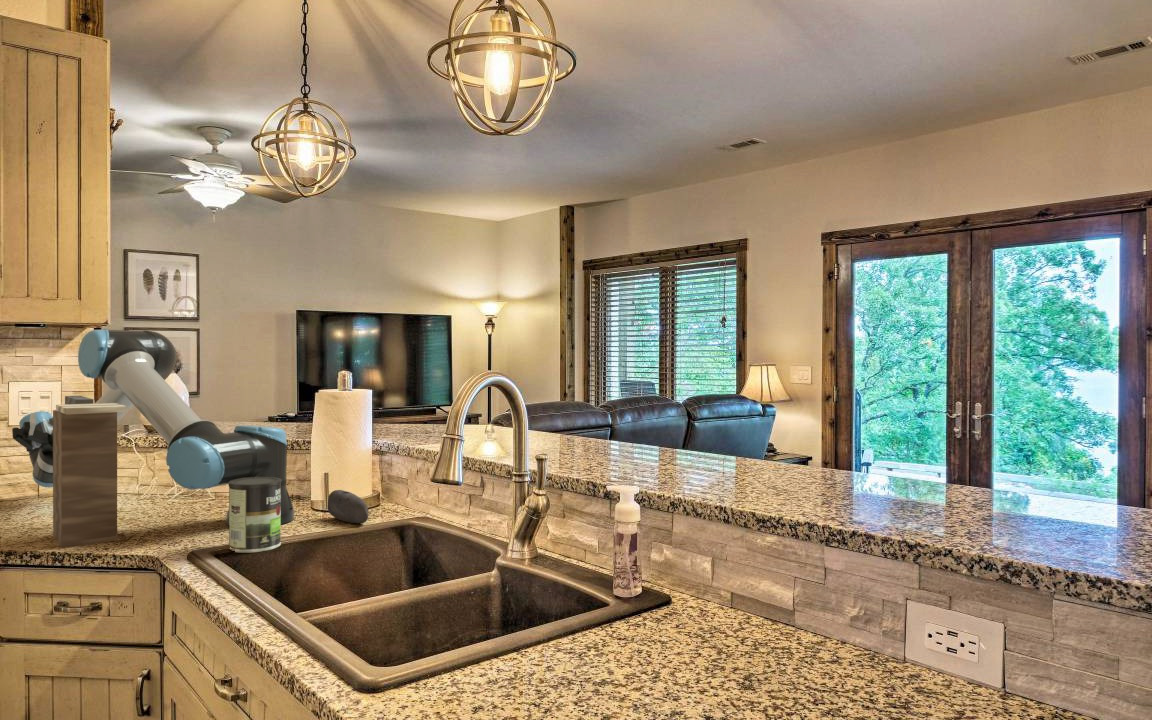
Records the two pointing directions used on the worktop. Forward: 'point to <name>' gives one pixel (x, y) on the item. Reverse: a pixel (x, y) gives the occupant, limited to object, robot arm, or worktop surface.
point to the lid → (87, 406)
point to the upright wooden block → (84, 478)
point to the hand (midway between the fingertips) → (68, 416)
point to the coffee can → (254, 514)
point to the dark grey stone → (347, 507)
